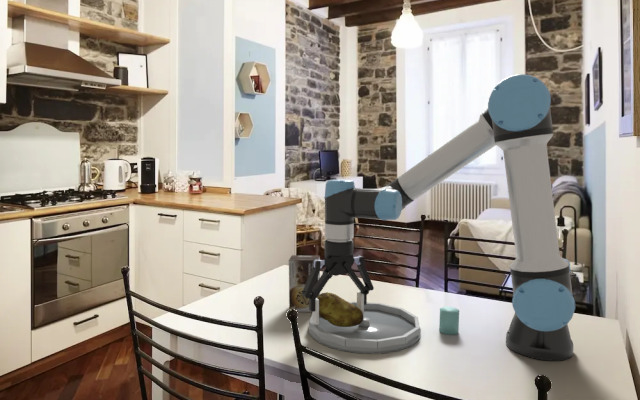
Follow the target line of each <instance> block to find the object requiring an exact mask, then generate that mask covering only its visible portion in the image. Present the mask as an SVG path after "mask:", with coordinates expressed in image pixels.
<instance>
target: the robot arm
mask: <svg viewBox="0 0 640 400" xmlns="http://www.w3.org/2000/svg"><path fill="white" fill-rule="evenodd" d="M551 98H552V97H551V93H550V89H549V88H548V87H547V85H546V84H545V83H544V82H543V81H542V80H540V79H539V78H538V77H536V76H533V75H530V74H523V73H521V74H514V75H509V76H508V77H506V78H504V79H502V80H501V81H499V82H498V83H497V84H496V85H495V87H494V88H493V90H492V91H491V93H490V95H489V97H488V102H487V108H486V109H485V110H483V112H480V113H479V118H478V120H477V121H475V122H474V123H473V124H471V125H470V126H468V127H467V128H465V129H464V130H462V131H461V132H460V133H458V134H457V135H455V136H454V137H453V138H452V139H450V140H449V141H447V142H446V143H444V144H443V145H442V146H441V147H439V148H437V149H436V150H434V151H433V152H432V153H430V154H429V155H428V156H426V157H425V158H424V159H422V160H421V161H419V162H418V163H417V164H415V165H414V166H412V167H411V168H409V169H407V171H405V172H404V173H403V174H401V175H400V176H398V177H397V178H396V179H394V180H392V181H391V182H390V183H388V184H387V185H385V186H383V187H378V188H360V187H356V186H355V182H354V180H352V179H329V180H327V181H326V183H325V190H324V197H323V199H324V238H325V240H324V258H323V259H320V260H317V259H314V260H313V266H312V270H311V272H310V275H309V277H308V280H307V282H306V285H305V287H304V289H303V292H302V295H303V296H304V297H306V298H309V309H310V311H312V312H311V313H312V314H311V316H312V321H313V322H314V323H315V324H316V325H319V299H317V296H318V295H319V293H320V294H321V292H322V291H323V289H324V288H325V287H326V284H327V283H328V282H329V281H330V279H332V277H335V276H340V275H341V276H345V275H348V276H349V278H350V279H351V280H352V282H353V283H354V285H355V286H356V287H357V289H358V290H359V291H356V302H357V307H358V308H359V309H360V310H361V311H362V313H363V318H364V305H366V303H367V299H368V298H367V296H368V295H369V293H370V291H373V290H374V289H375V287H374V285H373V282H372V281H371V277H370V275H369V273H368V270H367V268H366V264H365V257H364V256H361V255H360V254H359V255H357V256H354V247H355V246H354V240H353V239H354V234H355V232H354V231H355V230H354V229H355V227H354V226H355V225H354V224H355V220H354V218H355V219H369V220H372V219H373V220H380V221H381V220H382V221H395V220H396V221H397V220H398V219H399V218H400V216H401V214H402V211H403V210H404V209H405V208H406V207H407V206H409V205H410V204H411V203H413V202H414V201H416V200H417V199H419V198H420V197H421V196H423V195H425V194H426V193H427V192H429V191H430V190H433V188H435V187H436V186H438V185H439V184H441V183H442V182H444V181H445V180H447V179H449V178H450V177H451V176H453V175H454V174H455V173H457V172H458V171H460V170H462V168H465V167H466V166H468V164H470V163H472V162H473V161H475V160H476V159H478V158H479V157H481V156H482V155H483V154H485V153H486V152H488V151H490V150H492V149H493V148H494V147H495V146H497V147H498V148H500V149H501V150H502V152H503V161H504V168H505V175H506V184H507V192H508V193H507V194H508V198H509V199H508V201H509V209H510V210H509V211H510V217H511V224H512V225H511V226H512V232H513V234H512V235H513V240H514V241H513V242H514V247H515V259H514V260H513V262H512V263H511V264H510V265H509V266H510V267H509V268H510V270H509V271H510V277H511V284H512V285H511V286H512V300H511V302H512V303H511V305H512V309H513V311H514V315H513V316H512V317H513V318H512V320H511V322H510V325H509V328H508V330H507V331H506V334H505V345H506V346H507V347H508V348H509V350H511V351H513V352H515V353H517V354H519V355H522V356H525V357H528V358H530V359H536V360H543V361H551V362H552V361H554V362H555V361H563V360H568V359H569V358H572V357H573V355H574V343H573V339H572V338H571V333H570V330H569V325H568V324H569V323H570V321H571V320H572V319H573V317H574V313H575V310H576V301H575V298H574V297H573V296H574V295H573V289H572V281H571V273H572V269H571V263H570V260H568V259H567V258H564V257H562V256H561V255H560V246H559V239H558V232H557V231H558V230H557V223H556V222H557V221H556V215H555V206H554V205H555V204H554V197H553V189H552V188H553V187H552V179H551V171H550V164H549V163H550V162H549V157H548V156H549V155H548V147H547V144H548V143H549V141H550V140H551V139H552V138H553V136H554V130H553V120H552V114H551V111H552V110H551V103H552V102H551V101H552V100H551ZM354 264H355V265H356V266H357V270H358V272H359V275H360V276H361V279H362V280H361V279H360V278H359V276H357V274H356V273H355V271H354V269H353V268H352V266H353V265H354ZM323 266H324V267H325V268H324V269H323V271H322V274H320V278H319V280H318V281H317V283H316V284H315V282H316V280H317V277H318V275H319V272H320V273H321V270H322V268H323ZM362 281H363V282H362ZM314 284H315V286H314Z"/></svg>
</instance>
